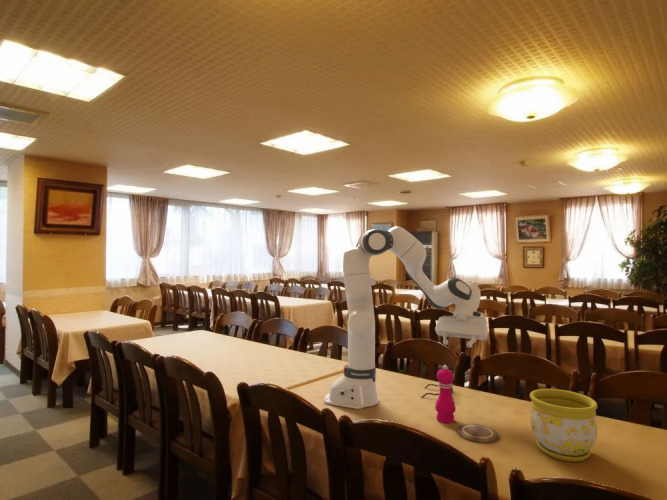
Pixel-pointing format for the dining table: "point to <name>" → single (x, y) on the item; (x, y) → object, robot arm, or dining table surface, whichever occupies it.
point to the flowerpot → (563, 423)
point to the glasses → (435, 394)
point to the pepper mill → (445, 396)
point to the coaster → (477, 433)
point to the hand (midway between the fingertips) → (456, 345)
